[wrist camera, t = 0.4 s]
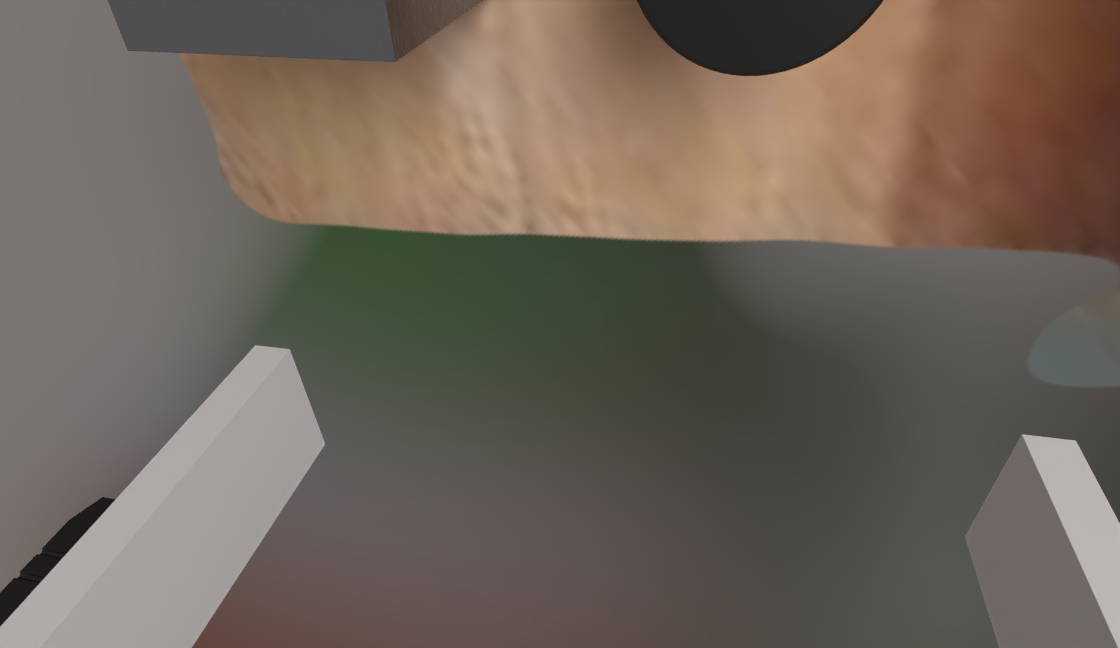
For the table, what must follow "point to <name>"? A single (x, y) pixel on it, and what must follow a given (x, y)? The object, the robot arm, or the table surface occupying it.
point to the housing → (285, 26)
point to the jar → (755, 31)
